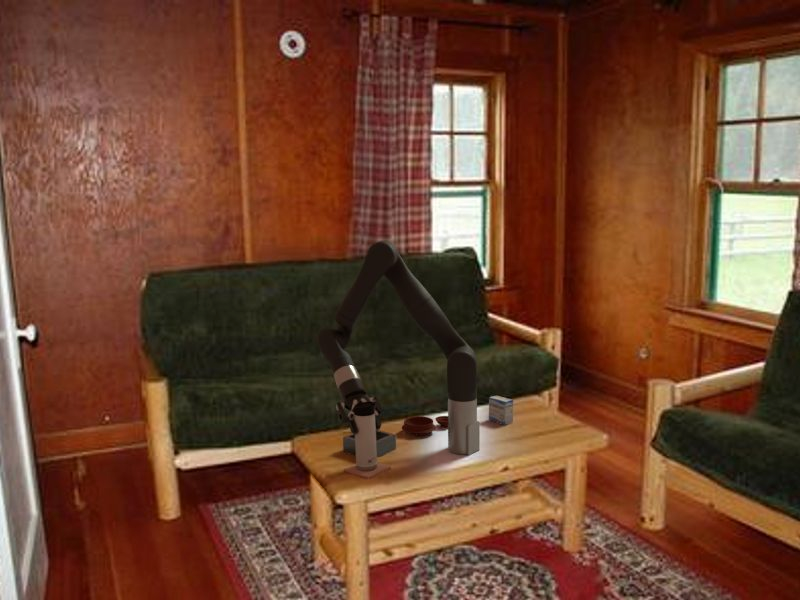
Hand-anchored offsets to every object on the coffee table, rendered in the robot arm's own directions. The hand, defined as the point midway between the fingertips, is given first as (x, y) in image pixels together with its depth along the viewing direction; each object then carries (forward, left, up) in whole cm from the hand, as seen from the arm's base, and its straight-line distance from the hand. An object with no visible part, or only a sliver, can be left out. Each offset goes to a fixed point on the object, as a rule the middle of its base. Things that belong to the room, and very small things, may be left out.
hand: (367, 430), depth 214 cm
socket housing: (+11, -12, -12) cm, 20 cm away
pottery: (+8, -39, -13) cm, 42 cm away
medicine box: (-7, -62, -13) cm, 64 cm away
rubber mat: (+1, 0, -12) cm, 12 cm away
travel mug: (+1, 0, -12) cm, 12 cm away
